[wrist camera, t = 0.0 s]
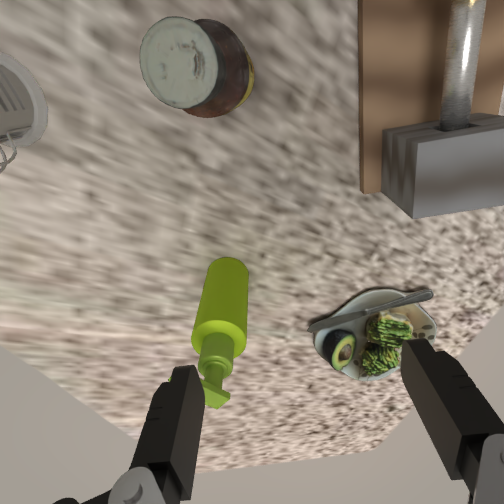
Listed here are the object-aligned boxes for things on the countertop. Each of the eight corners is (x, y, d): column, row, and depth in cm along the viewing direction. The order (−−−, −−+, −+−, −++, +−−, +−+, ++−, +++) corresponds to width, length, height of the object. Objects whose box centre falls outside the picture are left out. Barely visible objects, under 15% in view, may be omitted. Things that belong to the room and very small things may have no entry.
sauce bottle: (265, 65, 33) (278, 48, 15) (234, 120, 35) (215, 159, 18) (210, 24, 31) (153, -48, 14) (181, 85, 34) (103, 90, 16)
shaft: (429, -105, 24) (468, -147, 20) (498, -122, 24) (553, -167, 19) (412, 157, 34) (436, 169, 29) (461, 149, 33) (492, 159, 29)
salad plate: (393, 251, 43) (407, 268, 39) (462, 319, 49) (480, 341, 45) (292, 330, 50) (295, 352, 46) (363, 382, 56) (371, 405, 52)
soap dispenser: (218, 245, 43) (192, 359, 25) (257, 272, 45) (258, 397, 27) (193, 273, 45) (153, 397, 27) (231, 298, 47) (217, 428, 29)
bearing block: (357, -42, 29) (402, -97, 20) (521, -79, 27) (646, -155, 19) (360, 190, 39) (391, 222, 30) (479, 171, 38) (547, 198, 29)
